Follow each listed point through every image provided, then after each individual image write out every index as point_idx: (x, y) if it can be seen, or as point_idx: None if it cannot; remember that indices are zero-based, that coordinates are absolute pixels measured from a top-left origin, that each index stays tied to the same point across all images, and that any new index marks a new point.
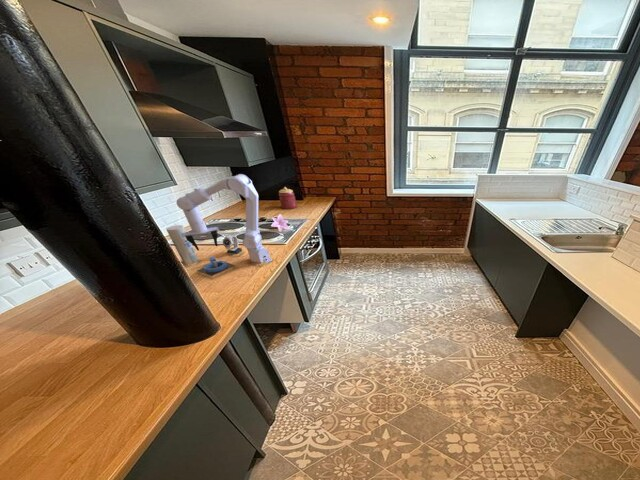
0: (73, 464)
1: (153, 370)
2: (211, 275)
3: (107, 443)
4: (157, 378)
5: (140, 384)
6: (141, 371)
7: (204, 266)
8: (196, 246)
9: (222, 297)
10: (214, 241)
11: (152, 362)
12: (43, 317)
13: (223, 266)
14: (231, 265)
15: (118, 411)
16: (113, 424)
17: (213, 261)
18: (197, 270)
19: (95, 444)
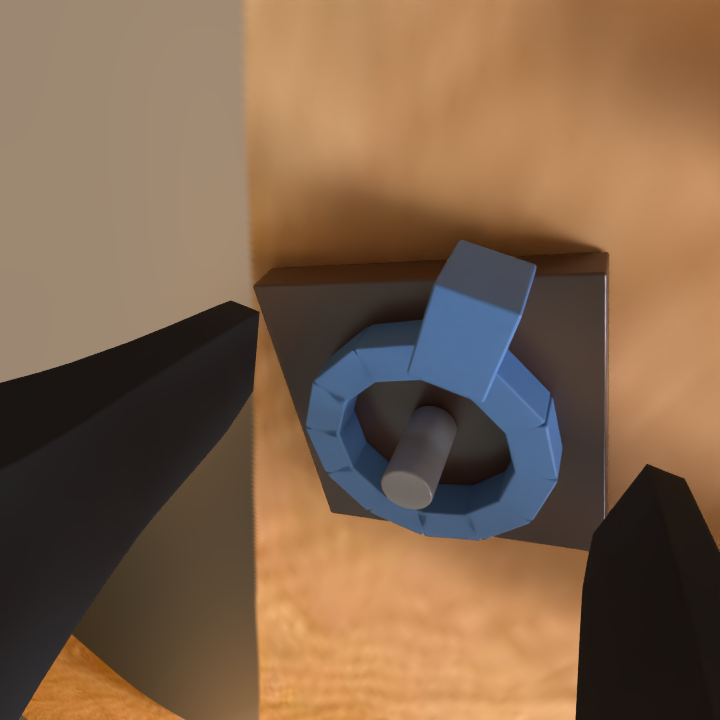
0: (33, 701)
1: (95, 686)
2: (334, 504)
3: (62, 715)
4: (106, 704)
5: (79, 688)
6: (73, 668)
7: (322, 377)
8: (171, 474)
9: (308, 665)
10: (594, 675)
11: (89, 670)
12: None
13: (470, 535)
14: (575, 519)
15: (59, 694)
16: (60, 703)
17: (408, 483)
18: (265, 296)
19: (48, 704)
